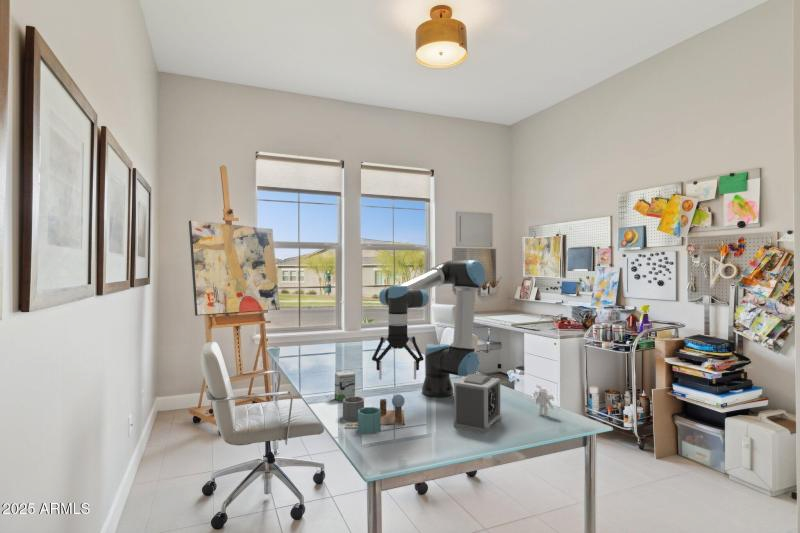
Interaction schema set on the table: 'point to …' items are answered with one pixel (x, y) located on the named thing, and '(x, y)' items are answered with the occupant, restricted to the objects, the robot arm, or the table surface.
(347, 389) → the ink box
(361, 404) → the tube charcoal
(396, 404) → the ball slate
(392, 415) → the stand
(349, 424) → the card
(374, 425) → the tube teal
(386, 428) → the table surface
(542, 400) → the blocky character figurine
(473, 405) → the alarm clock
